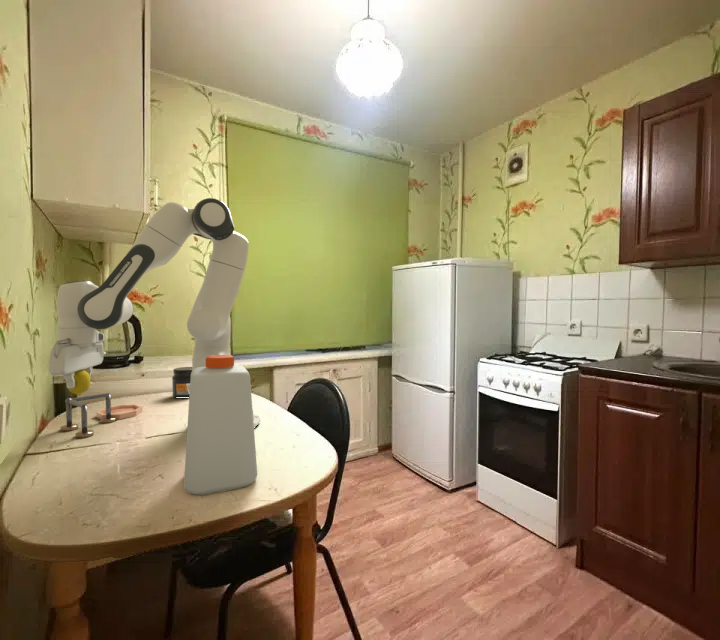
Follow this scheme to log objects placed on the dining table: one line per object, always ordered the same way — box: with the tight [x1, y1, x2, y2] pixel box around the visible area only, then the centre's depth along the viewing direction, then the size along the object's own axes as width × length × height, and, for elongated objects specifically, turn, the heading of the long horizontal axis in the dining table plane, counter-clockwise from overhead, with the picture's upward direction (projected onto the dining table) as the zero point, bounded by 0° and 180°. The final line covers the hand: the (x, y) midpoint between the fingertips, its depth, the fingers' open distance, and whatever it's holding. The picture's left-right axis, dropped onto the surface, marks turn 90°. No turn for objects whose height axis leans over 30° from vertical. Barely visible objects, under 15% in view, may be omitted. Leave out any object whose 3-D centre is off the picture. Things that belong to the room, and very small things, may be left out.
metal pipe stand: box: [59, 392, 117, 439], centre depth 118 cm, size 12×18×10 cm
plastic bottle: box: [183, 354, 258, 496], centre depth 85 cm, size 15×15×28 cm
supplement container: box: [171, 366, 192, 398], centre depth 160 cm, size 10×10×12 cm
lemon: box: [67, 370, 91, 397], centre depth 108 cm, size 6×6×8 cm
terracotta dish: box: [95, 403, 143, 421], centre depth 133 cm, size 13×13×2 cm
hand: (78, 385), depth 108 cm, fingers closed on lemon, 5 cm apart
